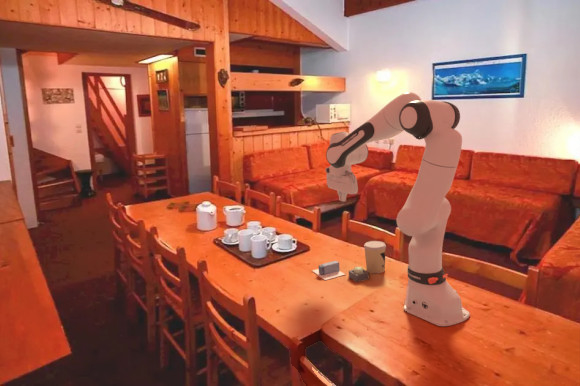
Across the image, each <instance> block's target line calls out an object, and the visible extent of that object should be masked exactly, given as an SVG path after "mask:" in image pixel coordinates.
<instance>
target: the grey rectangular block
mask: <svg viewBox="0 0 580 386" xmlns="http://www.w3.org/2000/svg"><path fill="white" fill-rule="evenodd" d="M318 269H319V274H321V275H326V274H330V273H334V272H337V271H341V270H340V262H339V261H337V260H333V261H329V262H324V263H322V264H319V265H318Z"/></svg>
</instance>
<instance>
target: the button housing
mask: <svg viewBox="0 0 580 386" xmlns="http://www.w3.org/2000/svg"><path fill="white" fill-rule="evenodd" d="M369 273H370V272H368V271H367V270H365V269H364V268H363V273H361V274H355V273H354V268H353V269H350V270H348V278H349V279H351V280H352V281H354V282H355V283H359V282H362V281H366V280H367V281H368V280H369V278H370V274H369Z"/></svg>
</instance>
